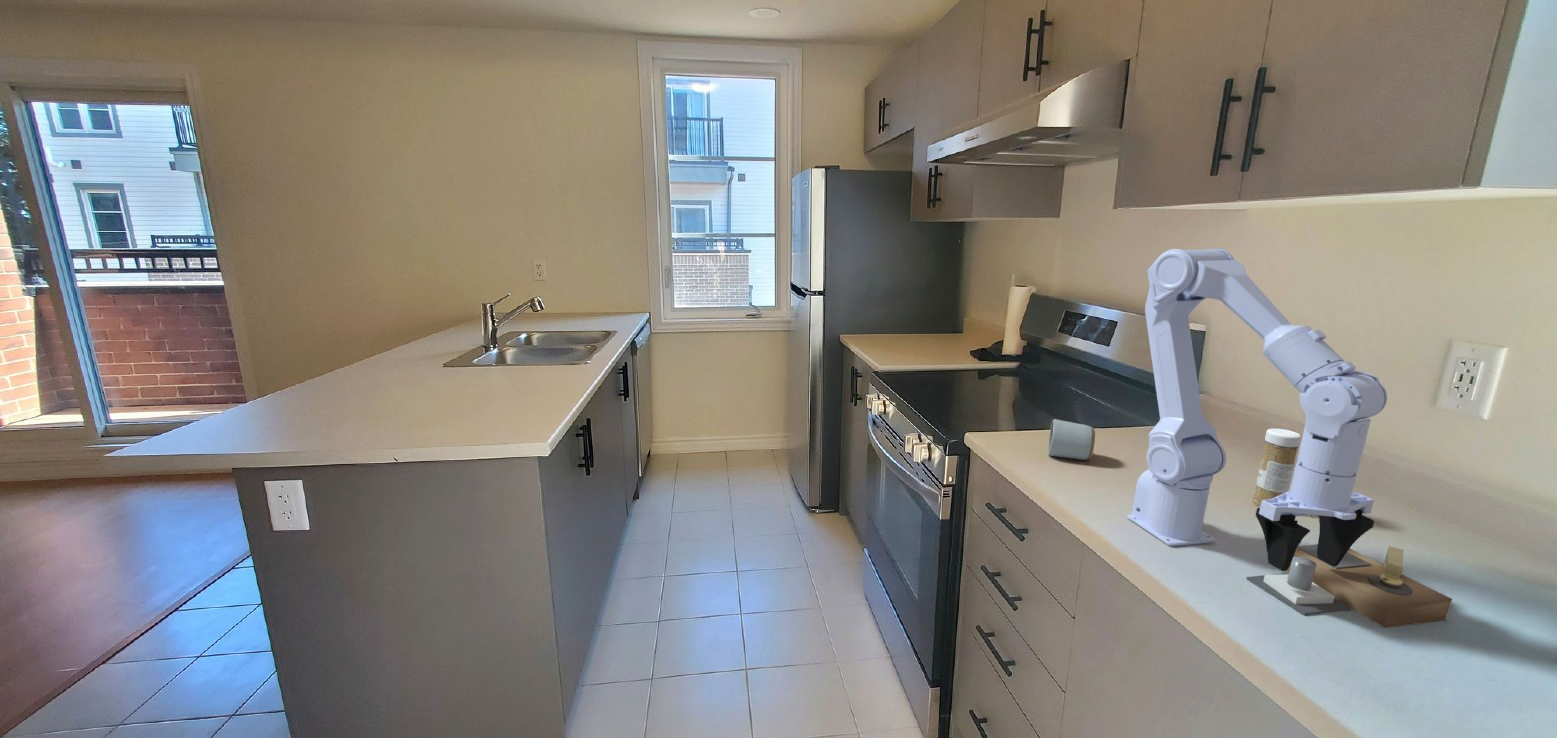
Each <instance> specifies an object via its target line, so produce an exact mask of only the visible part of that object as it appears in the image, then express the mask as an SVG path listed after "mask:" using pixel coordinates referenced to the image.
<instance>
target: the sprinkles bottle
mask: <svg viewBox="0 0 1557 738" xmlns="http://www.w3.org/2000/svg"><path fill="white" fill-rule="evenodd" d="M1264 440H1265V441H1264V442H1265V445H1264V448H1263V453H1262V458H1261V461H1260V463H1259V464H1260V465H1259V469H1258V473H1257V479H1256V483H1255V484H1256V485H1255V491H1254V496H1253V497H1252V502H1253V503H1254V504H1255V505H1256V506H1259V507H1260V506H1261V502H1262V500H1268V499H1272V498H1274V497H1277V496H1279V495H1281V494H1284V493H1286V492H1288V491H1290V489H1289V488H1290V487H1291V482H1292V478H1293V473H1294V469H1295V459H1296V455H1297V451H1298V449H1299V447H1300V445H1301V441H1302V436H1301V434H1300V433H1298V432H1296V431H1292V430H1291V429H1290V430H1289V429H1283V428H1269V429H1267V430H1266V433H1265V438H1264Z"/></svg>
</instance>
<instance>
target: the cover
mask: <svg viewBox="0 0 1557 738" xmlns="http://www.w3.org/2000/svg"><path fill="white" fill-rule="evenodd" d="M1315 569H1316V563H1315V562H1313V561H1312V560H1310V559H1307V558H1303V557H1293V559H1292V562H1291V566H1290V571H1289V572H1288V573H1289V574H1284V575H1272V574H1264V575H1265V576H1264V581H1263V582H1265V583H1266V584H1268V585H1269V586H1270V587H1272V588H1273V589H1275V590H1276V591H1278V592H1279V593H1280V594H1282V595H1283V596H1285V597H1286V598H1288V599H1289V600H1290V601H1292V602H1293V603H1295V604H1319V603H1333V601H1334V597H1335V596H1333V595H1332V594H1330V593H1329V592H1327V591H1326V590H1324V589H1323V588H1321V587H1319V586H1318V585H1316V584H1315V583H1313V582H1312V581H1313V577H1314V573H1315Z"/></svg>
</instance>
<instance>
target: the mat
mask: <svg viewBox="0 0 1557 738" xmlns="http://www.w3.org/2000/svg"><path fill="white" fill-rule="evenodd" d="M1284 574H1289V572H1284V573H1283V572H1281V573H1275V574H1274V573H1273V574H1271V575H1284ZM1265 575H1266V574H1263V575H1253V576H1246V578H1245V579H1246V580H1247V581H1249V583H1252V584H1254V585H1255V586H1256V587H1258V588H1260V589H1261V590H1263V591H1265V592H1266V593H1268V594H1270V595H1271V596H1273V597H1274V598H1276V599H1277V600H1279V601H1280V602H1281V603H1283V604H1285V605H1287V606H1288V607H1290V608H1291V609H1292V610H1295V611H1297V612H1298V613H1300V615H1303V616H1308V615H1309V616H1310V615H1316V614H1317V615H1318V614H1325V613H1326V614H1328V613H1336V612H1344V611H1345V612H1346V611H1351V610H1352V608H1351V607H1349V606H1347V605H1345V604H1344V603H1342V602H1340V601H1338V600H1337V599H1335V598H1334V601H1333V603H1319V604H1295V603H1293V602H1292V601H1290V600H1289V599H1288V598H1286V597H1285V596H1283V595H1282V594H1280V593H1279V592H1278V591H1276V590H1275V589H1273V588H1272V587H1270V586H1269V585H1268V584H1266V583H1265V582H1263V581H1264V576H1265Z"/></svg>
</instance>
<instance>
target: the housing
mask: <svg viewBox="0 0 1557 738" xmlns="http://www.w3.org/2000/svg"><path fill="white" fill-rule="evenodd" d="M1317 547H1318V543H1316V544H1305V545H1298V547H1297V549H1296V551H1295V553H1294V556H1293V557H1303V558H1307V559H1310V560H1312V561H1313V562H1315V563H1316V569H1315V573H1314V577H1313V581H1312V582H1313V583H1315V584H1316V585H1318V586H1319V587H1321V588H1323V589H1324V590H1326V591H1327V592H1329V593H1330V594H1332V595H1333V596H1335V597H1334V598H1335V599H1337V600H1338V601H1340V602H1342V603H1344V604H1345V605H1347V606H1349V607H1351V610H1354V611H1356V612H1357V613H1358V614H1361V615H1363V616H1365V617H1366V618H1368V619H1370V620H1371V621H1373V622H1375V623H1377V624H1378V625H1380V626H1382V627H1383V628H1391V627H1400V626H1401V627H1402V626H1408V625H1409V626H1410V625H1416V624H1427V623H1434V622H1444V621H1447V618H1448V614H1449V611H1450V608H1451V605H1452V602H1453V598H1452V597H1449V596H1447V595H1444V594H1443V593H1441V592H1439V591H1437V590H1435V589H1434V588H1432V587H1431V588H1430V587H1429V586H1426V585H1424V584H1422V583H1421V582H1418V581H1416V580H1415V579H1412V578H1410V577H1408V576H1406V575H1405V574H1402V573H1401V577H1400V579H1402V580H1403V582H1402V586H1401V588H1393V587H1389V586H1386V585H1384V584H1382V583H1381V582H1380V581H1379V579H1380V575H1381V574H1383V569H1384V564H1382V563H1380V562H1378V561H1376V560H1374V559H1372V558H1369V556H1368V557H1367V556H1366V555H1364V554H1361V553H1359V552H1358V551H1356V550H1353V549H1351V548H1349V550H1348V551H1347V553H1346V554H1345V555H1344V557H1343V558H1342V560H1341V561H1340V563H1339V564H1338V565H1337V566H1331V565H1329V564H1327V563H1326V562H1324V561H1322V560H1320V559H1318V558H1317ZM1290 566H1291V565H1290ZM1289 571H1290V567H1289V568H1288V570H1287V571H1286V572H1287V573H1289Z"/></svg>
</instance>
